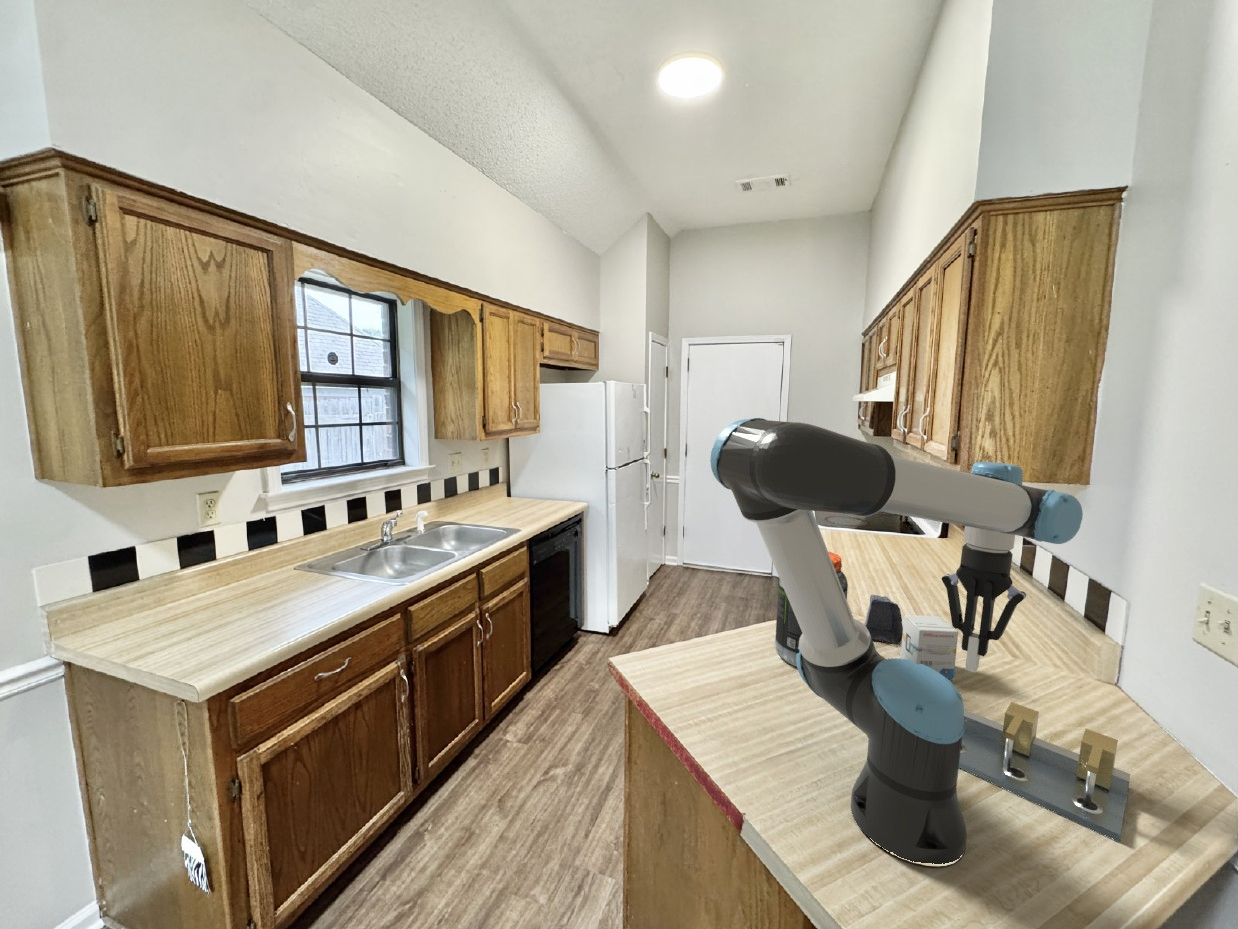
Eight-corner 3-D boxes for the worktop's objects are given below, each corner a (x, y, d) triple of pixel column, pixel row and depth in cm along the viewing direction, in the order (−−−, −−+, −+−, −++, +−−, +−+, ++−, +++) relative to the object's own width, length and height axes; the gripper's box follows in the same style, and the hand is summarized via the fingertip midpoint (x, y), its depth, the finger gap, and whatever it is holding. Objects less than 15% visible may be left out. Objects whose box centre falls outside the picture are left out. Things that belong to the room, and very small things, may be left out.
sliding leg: (1020, 774, 86) (1024, 739, 85) (991, 761, 89) (995, 727, 88) (1034, 743, 94) (1038, 711, 93) (1007, 733, 97) (1011, 701, 96)
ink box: (936, 661, 126) (940, 615, 125) (954, 680, 118) (959, 631, 116) (899, 659, 127) (903, 613, 126) (915, 677, 119) (919, 629, 117)
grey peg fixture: (1119, 842, 75) (1126, 792, 74) (921, 751, 94) (925, 710, 93) (1128, 787, 86) (1135, 743, 85) (949, 715, 105) (953, 678, 104)
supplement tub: (850, 676, 119) (858, 567, 115) (779, 670, 121) (785, 563, 118) (833, 644, 134) (839, 547, 131) (770, 639, 137) (775, 544, 133)
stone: (898, 654, 133) (858, 637, 136) (890, 644, 142) (852, 627, 145) (916, 611, 132) (875, 594, 135) (906, 604, 142) (868, 588, 145)
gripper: (1036, 552, 92) (1019, 676, 95) (952, 536, 102) (939, 649, 105) (1027, 559, 87) (1009, 691, 90) (940, 542, 97) (926, 661, 100)
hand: (971, 668), depth 98 cm, fingers closed
